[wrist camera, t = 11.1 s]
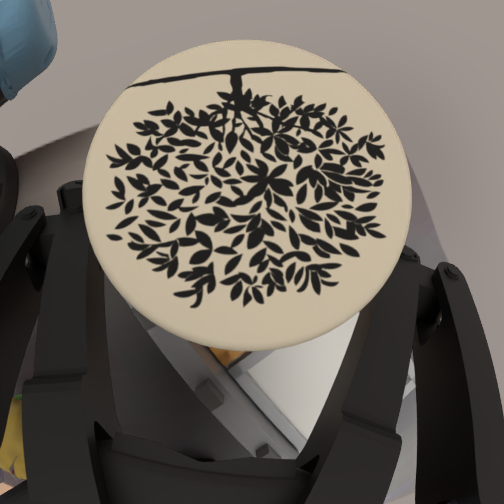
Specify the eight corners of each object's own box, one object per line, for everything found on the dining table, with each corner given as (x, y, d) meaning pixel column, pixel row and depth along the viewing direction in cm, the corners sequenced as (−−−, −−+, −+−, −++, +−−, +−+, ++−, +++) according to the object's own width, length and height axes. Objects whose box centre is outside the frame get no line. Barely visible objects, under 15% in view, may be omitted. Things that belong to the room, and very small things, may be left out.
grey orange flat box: (121, 253, 25) (81, 240, 17) (262, 151, 26) (270, 106, 19) (294, 467, 23) (310, 514, 16) (419, 366, 25) (466, 383, 17)
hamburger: (30, 369, 23) (-51, 396, 11) (88, 385, 23) (11, 431, 11) (40, 434, 22) (-26, 478, 10) (96, 453, 22) (39, 516, 10)
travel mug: (287, 307, 24) (427, 352, 6) (184, 305, 23) (60, 349, 5) (287, 207, 25) (392, 54, 7) (188, 204, 24) (111, 39, 6)
